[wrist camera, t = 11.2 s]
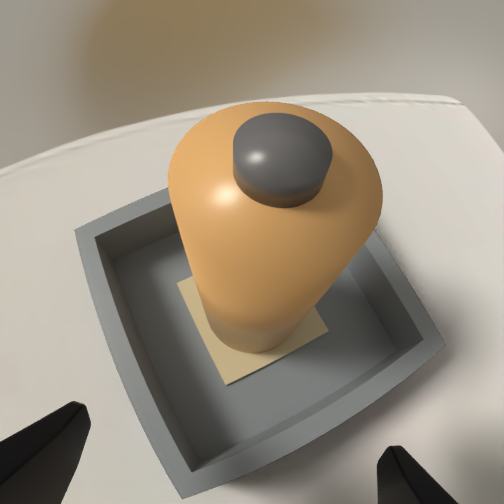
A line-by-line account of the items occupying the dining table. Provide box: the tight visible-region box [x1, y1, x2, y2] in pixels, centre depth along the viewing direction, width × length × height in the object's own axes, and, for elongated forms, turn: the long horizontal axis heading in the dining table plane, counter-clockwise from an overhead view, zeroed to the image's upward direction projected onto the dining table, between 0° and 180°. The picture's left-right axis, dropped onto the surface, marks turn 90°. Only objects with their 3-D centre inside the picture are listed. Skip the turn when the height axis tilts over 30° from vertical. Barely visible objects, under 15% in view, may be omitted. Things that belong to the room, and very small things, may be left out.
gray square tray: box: [75, 188, 445, 499], centre depth 16 cm, size 14×14×4 cm
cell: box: [168, 102, 383, 353], centre depth 12 cm, size 5×5×12 cm
